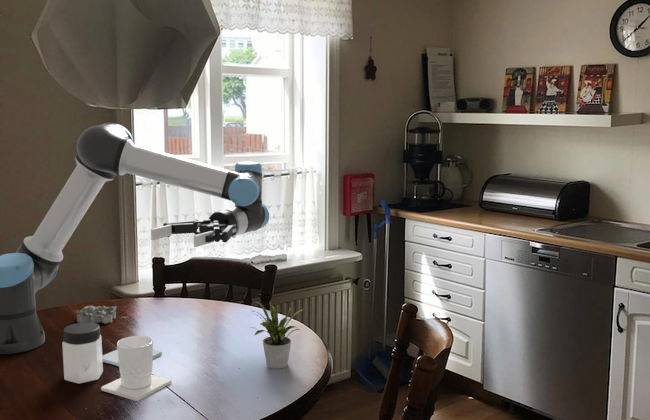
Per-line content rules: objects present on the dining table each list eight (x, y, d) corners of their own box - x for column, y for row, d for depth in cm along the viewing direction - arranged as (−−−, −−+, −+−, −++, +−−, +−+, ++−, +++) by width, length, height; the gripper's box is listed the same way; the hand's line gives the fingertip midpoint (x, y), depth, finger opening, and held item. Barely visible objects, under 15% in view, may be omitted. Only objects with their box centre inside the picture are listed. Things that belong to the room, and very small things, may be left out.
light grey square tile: (98, 360, 175) (98, 357, 175) (130, 346, 184) (130, 343, 184) (130, 369, 170) (130, 366, 170) (161, 354, 179) (161, 351, 179)
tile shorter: (101, 390, 158) (101, 386, 158) (136, 373, 167) (136, 370, 167) (137, 401, 153) (136, 397, 152) (171, 383, 162) (171, 380, 162)
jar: (68, 386, 160) (66, 336, 158) (60, 374, 166) (57, 326, 164) (108, 378, 165) (105, 329, 162) (98, 366, 171) (95, 319, 169)
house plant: (231, 365, 172) (230, 302, 170) (268, 349, 183) (267, 289, 181) (275, 380, 164) (275, 313, 161) (311, 362, 175) (311, 299, 172)
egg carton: (73, 324, 202) (73, 310, 202) (84, 315, 210) (83, 302, 209) (109, 325, 202) (109, 311, 201) (119, 316, 209) (118, 303, 208)
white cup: (140, 373, 165) (138, 333, 164) (161, 382, 160) (160, 341, 159) (111, 384, 159) (109, 342, 158) (132, 393, 154) (130, 350, 153)
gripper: (265, 243, 182) (214, 259, 163) (191, 232, 194) (135, 246, 176) (265, 214, 180) (213, 228, 162) (190, 205, 192) (134, 217, 174)
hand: (173, 237), depth 169 cm, fingers open, 13 cm apart
